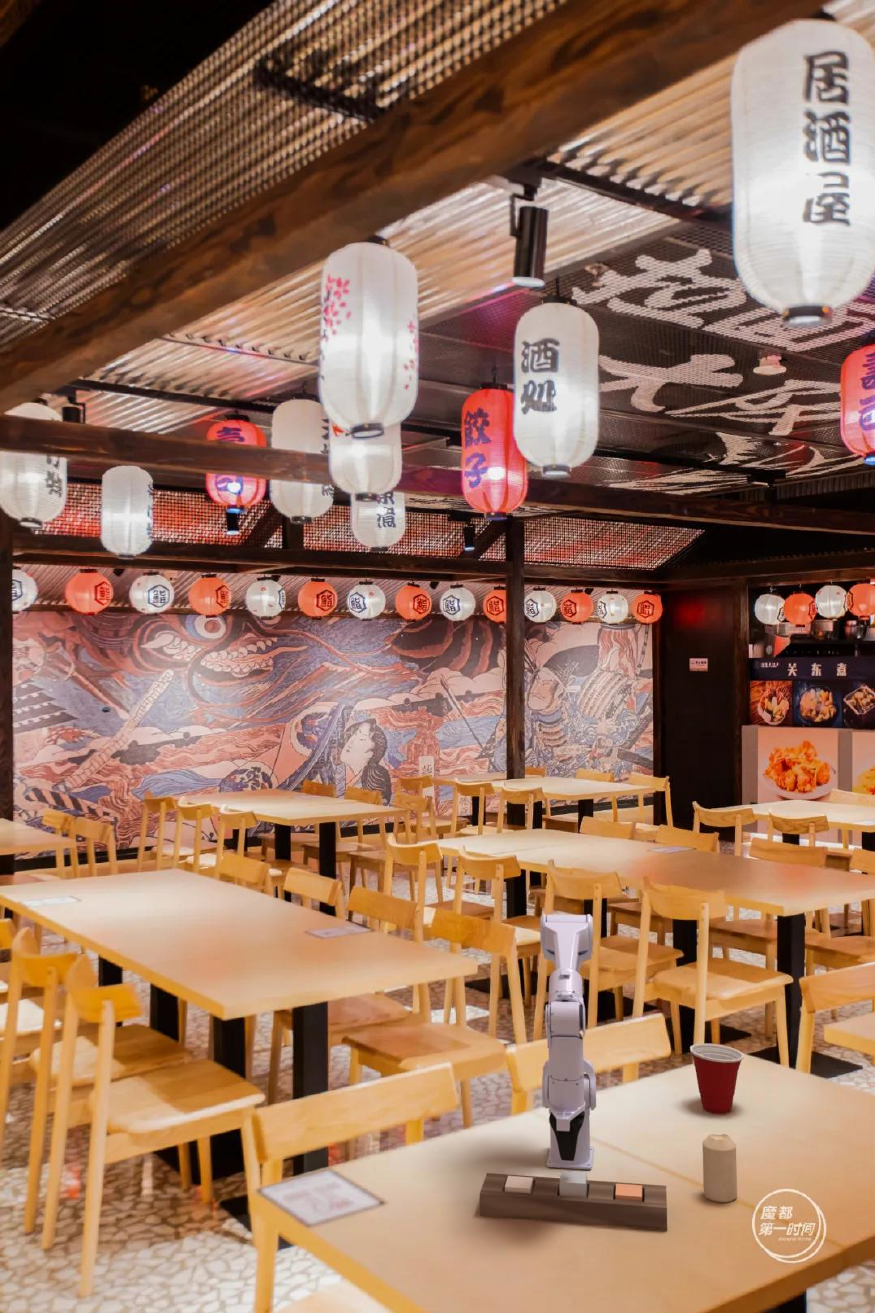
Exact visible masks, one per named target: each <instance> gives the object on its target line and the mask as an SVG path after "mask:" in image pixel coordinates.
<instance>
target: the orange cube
mask: <svg viewBox="0 0 875 1313" xmlns="http://www.w3.org/2000/svg"><path fill="white" fill-rule="evenodd" d="M615 1198H616V1200H626V1201H639V1202H642V1185H629V1184H616V1194H615Z"/></svg>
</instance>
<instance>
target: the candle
mask: <svg viewBox="0 0 875 1313" xmlns="http://www.w3.org/2000/svg"><path fill="white" fill-rule="evenodd" d="M737 1168H738V1167H737V1144H736V1143H735V1142H734V1140H733V1139H732V1138H731V1136H729V1135H728V1134H727V1133H722V1134H716V1133H712V1134H709V1135H708V1136H707V1137H706V1138H705V1139H703V1141H702V1174H703V1176H702V1178H703V1179H702V1181H703V1195H704V1197H706V1199H708V1200H711V1201H714V1202H717V1203H730V1202H731V1203H732V1202H733V1200H734V1199H735V1200H737V1198H738V1172H737ZM735 1200H734V1201H735Z"/></svg>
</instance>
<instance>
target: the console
mask: <svg viewBox="0 0 875 1313" xmlns="http://www.w3.org/2000/svg"><path fill="white" fill-rule="evenodd" d="M508 1176H517V1177H531V1178H533V1194H532V1193H519V1192H505V1185H506V1181H507V1178H508ZM559 1182H560V1177H550V1176H548V1177H547V1176H536V1175H535V1176H534V1175H521V1174H507V1173H493V1172H486V1175H485V1176H484V1180H483V1183H482V1186H481V1188H480V1189H481V1190H480V1193H479V1216H481V1217H482V1216H483V1217H493V1218H505V1219H518V1220H531V1221H542V1222H543V1221H545V1222H557V1223H570V1224H571V1223H572V1224H582V1225H583V1224H584V1225H593V1226H607V1227H619V1228H632V1229H644V1230H646V1229H647V1230H658V1231H668V1204H667V1203H668V1202H667V1201H668V1200H667V1185H662V1184H661V1185H660V1184H649V1183H647V1184H645V1183H633V1182H621V1181H620V1182H619V1181H604V1180H593V1179H592V1180H591V1179H590V1180H589V1179H587V1198H586V1197H572V1196H560V1185H559ZM616 1184H629V1185H642V1202H639V1201H626V1200H616V1198H615V1194H616Z"/></svg>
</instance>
